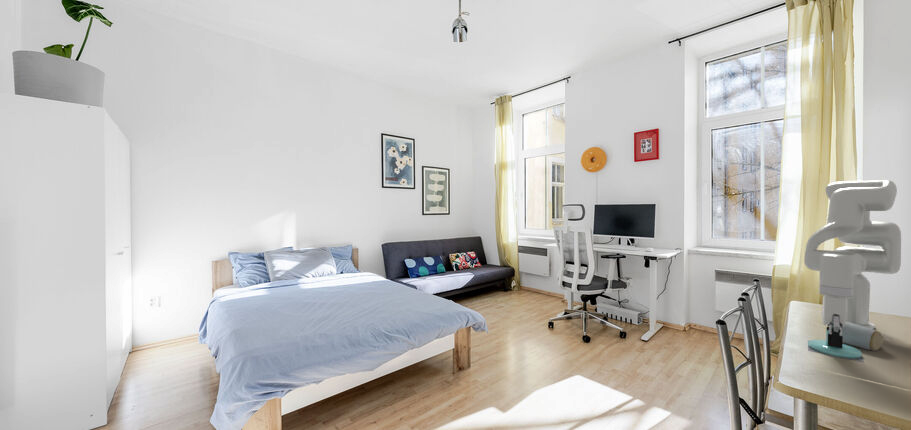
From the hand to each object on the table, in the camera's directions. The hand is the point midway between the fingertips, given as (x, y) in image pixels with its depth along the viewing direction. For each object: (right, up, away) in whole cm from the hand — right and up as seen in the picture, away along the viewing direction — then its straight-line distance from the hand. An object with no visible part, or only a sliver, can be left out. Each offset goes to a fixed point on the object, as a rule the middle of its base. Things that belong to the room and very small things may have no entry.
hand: (834, 342), depth 114 cm
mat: (0, -3, 0) cm, 3 cm away
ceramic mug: (+14, -3, +4) cm, 15 cm away
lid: (0, -3, 0) cm, 3 cm away
